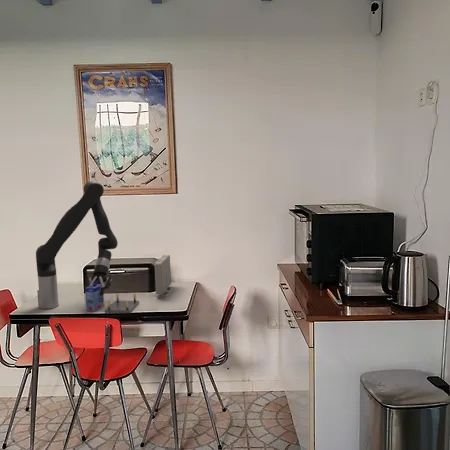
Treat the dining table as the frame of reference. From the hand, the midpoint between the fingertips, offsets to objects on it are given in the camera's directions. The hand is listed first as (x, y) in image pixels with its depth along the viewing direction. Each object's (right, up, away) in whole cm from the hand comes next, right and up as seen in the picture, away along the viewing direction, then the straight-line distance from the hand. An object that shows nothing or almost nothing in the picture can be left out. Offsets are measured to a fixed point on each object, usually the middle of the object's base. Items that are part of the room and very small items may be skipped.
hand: (95, 294), depth 230 cm
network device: (+31, -3, +30) cm, 44 cm away
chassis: (+14, -7, 0) cm, 16 cm away
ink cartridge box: (0, -7, +1) cm, 7 cm away
